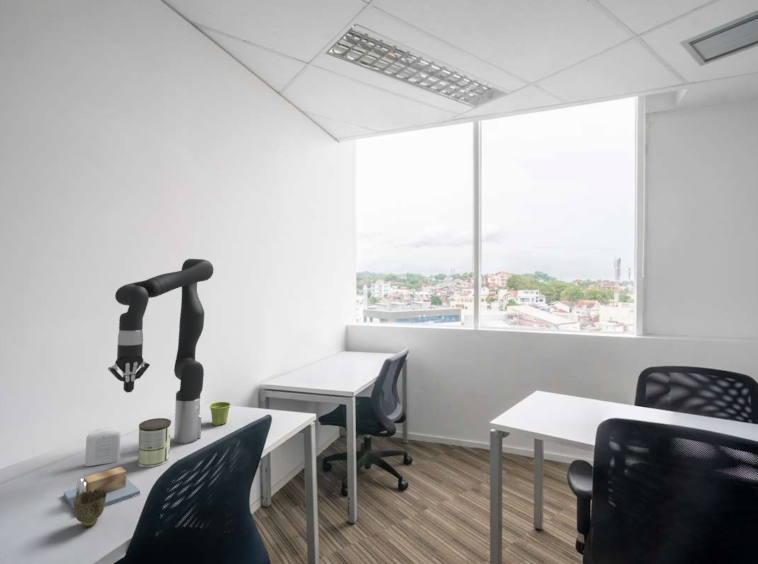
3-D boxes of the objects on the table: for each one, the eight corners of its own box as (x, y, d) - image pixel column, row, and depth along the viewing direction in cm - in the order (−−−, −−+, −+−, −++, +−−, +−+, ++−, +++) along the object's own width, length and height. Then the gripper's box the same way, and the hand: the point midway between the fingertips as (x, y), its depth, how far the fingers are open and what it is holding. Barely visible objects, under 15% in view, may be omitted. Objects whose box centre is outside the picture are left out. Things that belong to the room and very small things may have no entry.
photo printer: (119, 457, 150) (120, 424, 150) (119, 462, 147) (121, 428, 147) (85, 463, 145) (86, 428, 145) (84, 468, 141) (85, 432, 141)
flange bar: (87, 499, 120) (88, 482, 120) (83, 493, 123) (83, 477, 123) (125, 487, 128) (126, 471, 128) (120, 481, 131) (121, 466, 131)
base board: (122, 477, 136) (122, 474, 136) (139, 494, 126) (140, 490, 126) (63, 495, 124) (63, 492, 124) (77, 516, 114) (78, 511, 114)
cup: (83, 516, 114) (84, 488, 114) (111, 516, 115) (112, 488, 115) (65, 533, 107) (66, 502, 107) (95, 532, 107) (96, 502, 107)
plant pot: (203, 425, 185) (204, 406, 185) (217, 418, 194) (218, 400, 194) (221, 428, 183) (221, 409, 183) (234, 421, 192) (235, 403, 192)
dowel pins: (81, 494, 123) (82, 477, 123) (86, 500, 120) (87, 482, 120) (75, 496, 122) (75, 479, 122) (79, 502, 119) (80, 484, 119)
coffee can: (134, 460, 149) (135, 421, 149) (164, 452, 156) (166, 416, 156) (142, 470, 142) (143, 430, 141) (173, 462, 149) (175, 423, 149)
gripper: (146, 339, 150) (144, 386, 150) (104, 342, 139) (103, 393, 140) (154, 342, 145) (153, 390, 145) (112, 346, 135) (110, 398, 135)
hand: (128, 391), depth 142 cm, fingers closed
